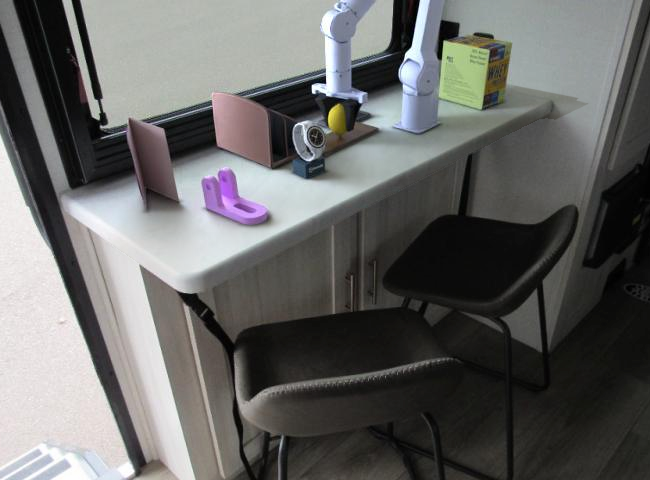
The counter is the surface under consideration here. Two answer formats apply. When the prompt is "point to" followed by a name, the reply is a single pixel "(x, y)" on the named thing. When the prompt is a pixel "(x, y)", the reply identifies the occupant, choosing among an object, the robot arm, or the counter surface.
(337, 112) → the lemon
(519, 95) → the counter surface
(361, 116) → the cell phone
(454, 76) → the protein box
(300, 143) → the watch
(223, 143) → the letter holder
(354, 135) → the back board
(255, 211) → the bracket
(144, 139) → the greeting card
